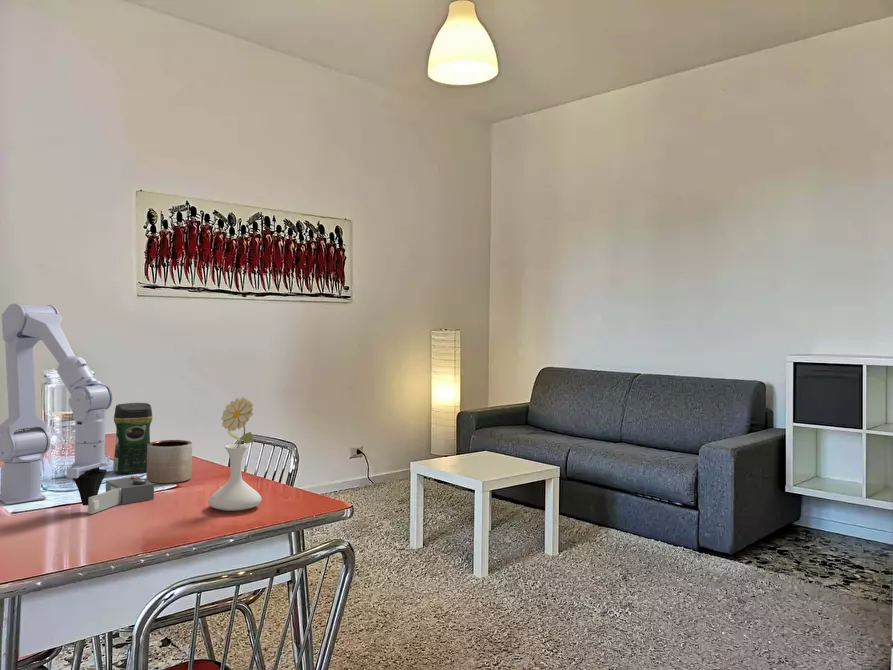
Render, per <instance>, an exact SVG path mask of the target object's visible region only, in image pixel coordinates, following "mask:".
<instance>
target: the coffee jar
mask: <svg viewBox="0 0 893 670" xmlns="http://www.w3.org/2000/svg"><path fill="white" fill-rule="evenodd" d="M152 410H153V409H152V405H151V404H150V403H146V402H129V403H127V402H126V403H118V404H116V406H115V409H114V413H113V414H114V416H113V422H114V424H115V427H116V428H115V429H116V431H115V432H116V434H115V447H114V454H113V455H114V456H113V467H112V469H113V472H114V473H115V474H121V475H123V474H125V473H131V474H139V473H138V472H140V473H144V472H146V473H147V447H148V443H151V435H150V433H151V431H150V429H151V428H150V427H151V423H152V422H153V411H152Z"/></svg>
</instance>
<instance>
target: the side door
mask: <svg viewBox="0 0 893 670" xmlns="http://www.w3.org/2000/svg"><path fill="white" fill-rule="evenodd" d="M117 505H121V488H116V489H113V490H110V491H107V492H106V491H105V492H102V493H101V492H100V493H98V495H95V496H92V497H89V502H88V507H87V508H88V510H87V514H88V515H93V514H95V513H98V512H101V511H104V510H106V509H109V508H111V507H114V506H117Z"/></svg>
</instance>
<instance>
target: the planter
mask: <svg viewBox="0 0 893 670" xmlns="http://www.w3.org/2000/svg"><path fill="white" fill-rule="evenodd" d="M192 476H193V442H192V441H189V440H183V439H165V440H163V439H162V440H157V441H156V440H155V441H150V443H148V447H147V471H146V481H148V482H151V483H153V484H154V483H156V484H155V485H175V484H176V485H177V484H181V483H182V484H183V483H185V482H188V481H189V480H190V479H192Z"/></svg>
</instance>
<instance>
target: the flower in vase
mask: <svg viewBox="0 0 893 670" xmlns="http://www.w3.org/2000/svg"><path fill="white" fill-rule="evenodd" d="M253 407H254V404H253V403H252V401H250V400H249V399H248V398H246V397H245V396H242V397H241V398H238V397H236V398H235V400H231V401H230V404H226V406H225V409H224V410H223V412H222V417H221V421H222V423H221V426H222V428H223V427H224V429H227V433H228V435H230V436H231V437H232V438H234V439H236V440H237V441H239V442H238V443H236V444H235V443H233V444H227V445H225V446H224V449H226V451H227V453H228V455H229V462H230V476H229V479H228V480H227V481H226V483H224V484H223V485H222V486H221V487H220V488H218V489H217V490H216V491H214V493H213V494H212V495H211V496H209V499H208V501H207V503H208V504H209V506H210V507H211V508H214V509H215V510H218V511H219V510H220V511H233V512H235V511H243V510H244V511H245V510H248V509H253V508H254V507H256V506H258V505H259V504H261V502H262V500H263V499H262V497H261V495H260V493H259V492H258V491H257V490H255V489H254V488H253V487H252V486H250V485H249V484H248V483H247V482H245V481H244V479H243V477H242V464H243V463H242V461H243V457H244V454H245V452H246V450H248V447H249V445H248V444H251V443H255V439H254V437H253V436H254V435H253V434H252V433H253V432H251V431H249V432H247V433H246V427H245V426H246V424H247V422H249V421H250V418H251V417H252V416H253V411H254V408H253ZM241 428H243V434H242V436H241V438H240V436H238V435H237V434H235V433H233V432H232V431H236V430H237V429H238V430H240V429H241ZM242 441H243V444H241V443H242Z"/></svg>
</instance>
